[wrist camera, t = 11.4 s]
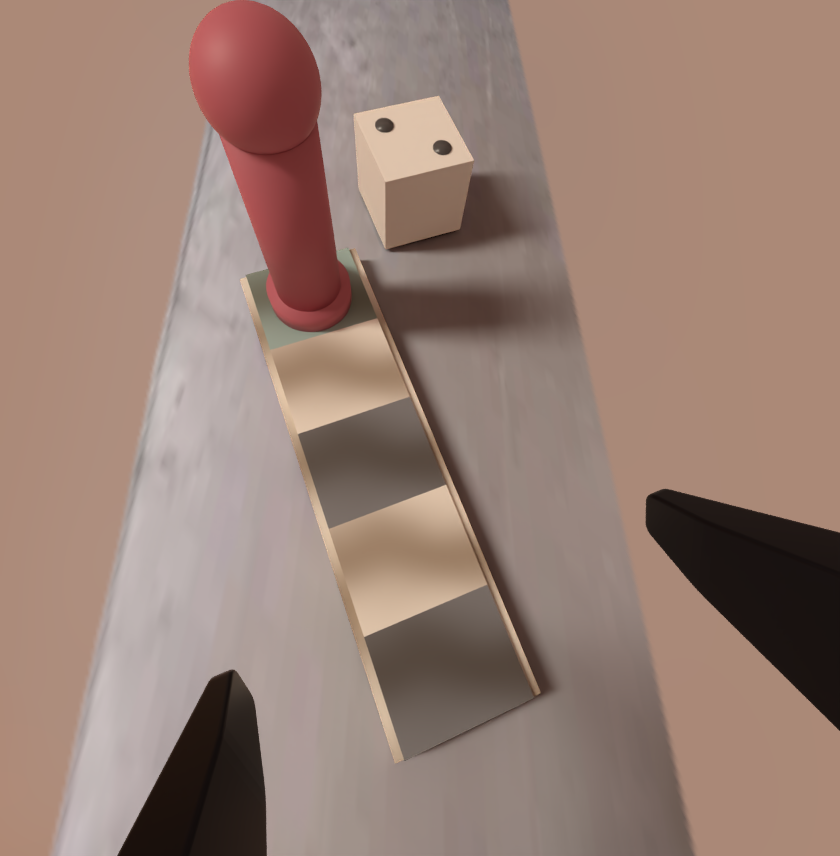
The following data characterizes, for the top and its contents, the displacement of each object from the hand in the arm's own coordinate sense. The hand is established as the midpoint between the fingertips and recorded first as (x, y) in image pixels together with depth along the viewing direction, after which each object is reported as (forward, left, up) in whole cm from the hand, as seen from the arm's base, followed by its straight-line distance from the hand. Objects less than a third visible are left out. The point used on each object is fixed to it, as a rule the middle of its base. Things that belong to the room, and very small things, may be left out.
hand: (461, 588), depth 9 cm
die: (+22, -8, -14) cm, 27 cm away
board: (+7, 0, -14) cm, 15 cm away
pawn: (+16, 0, -13) cm, 21 cm away
